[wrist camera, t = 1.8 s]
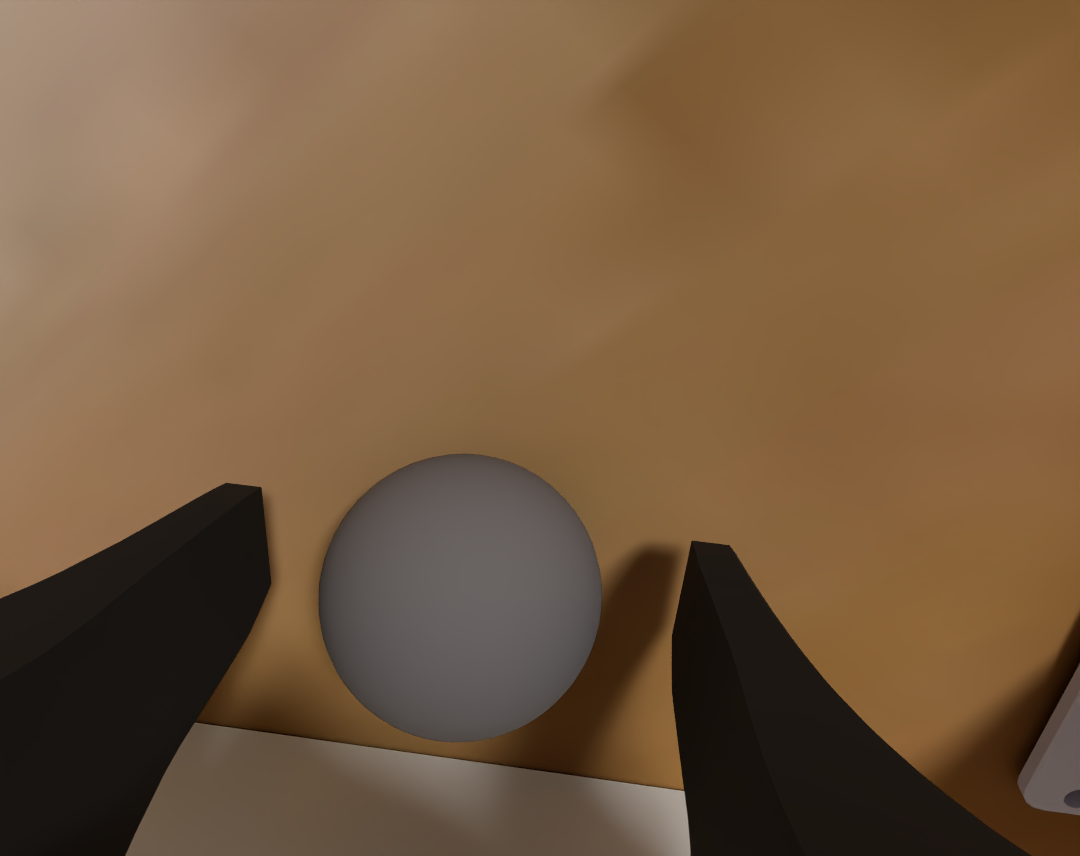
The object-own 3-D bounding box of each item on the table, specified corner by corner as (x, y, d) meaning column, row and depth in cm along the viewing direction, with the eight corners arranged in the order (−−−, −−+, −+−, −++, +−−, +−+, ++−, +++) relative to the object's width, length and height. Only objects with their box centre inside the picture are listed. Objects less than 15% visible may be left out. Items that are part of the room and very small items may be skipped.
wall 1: (743, 799, 17) (772, 1000, 14) (736, 823, 18) (762, 1024, 14) (37, 700, 18) (-104, 866, 15) (45, 725, 19) (-92, 893, 15)
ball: (620, 422, 13) (616, 592, 10) (591, 622, 16) (578, 828, 12) (363, 392, 14) (257, 546, 10) (369, 593, 16) (283, 785, 12)
